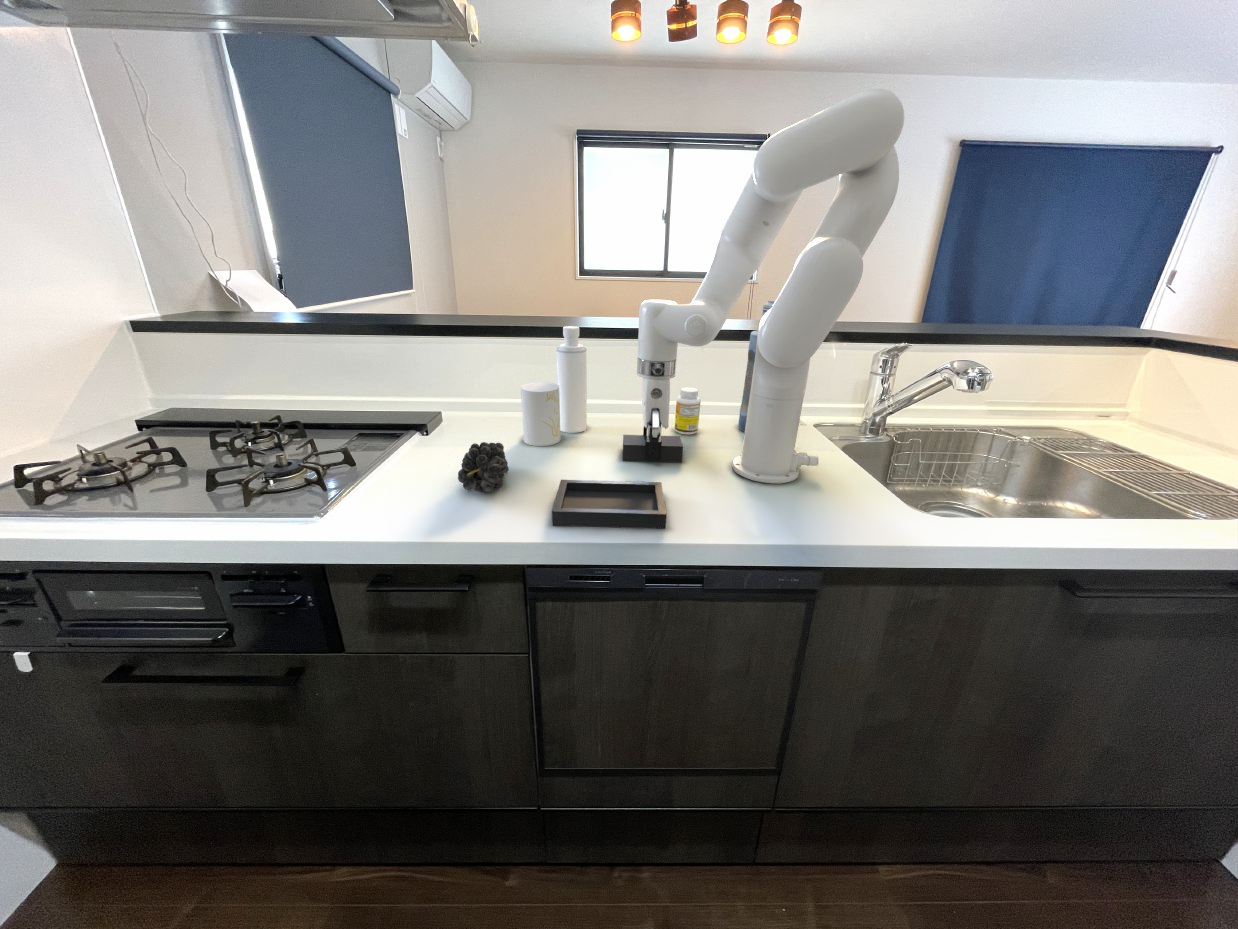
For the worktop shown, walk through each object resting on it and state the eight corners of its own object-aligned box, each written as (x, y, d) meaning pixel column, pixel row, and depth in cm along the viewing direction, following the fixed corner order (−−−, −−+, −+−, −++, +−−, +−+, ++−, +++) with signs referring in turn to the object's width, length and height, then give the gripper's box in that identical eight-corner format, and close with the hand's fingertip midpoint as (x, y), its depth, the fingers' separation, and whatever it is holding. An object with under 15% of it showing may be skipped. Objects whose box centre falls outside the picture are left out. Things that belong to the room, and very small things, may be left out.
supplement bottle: (679, 426, 120) (682, 385, 116) (700, 430, 118) (705, 388, 114) (670, 432, 116) (673, 390, 112) (693, 437, 114) (697, 393, 110)
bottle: (731, 423, 123) (746, 297, 111) (768, 422, 125) (787, 298, 113) (747, 436, 115) (766, 301, 103) (786, 435, 116) (809, 302, 104)
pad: (678, 451, 105) (680, 436, 104) (681, 462, 100) (683, 446, 98) (622, 449, 105) (623, 434, 104) (622, 460, 100) (623, 444, 98)
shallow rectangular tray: (660, 495, 86) (661, 482, 85) (665, 528, 76) (666, 514, 75) (561, 492, 86) (560, 479, 85) (552, 525, 76) (551, 511, 75)
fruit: (482, 419, 93) (459, 446, 79) (524, 433, 94) (509, 462, 80) (471, 459, 96) (447, 492, 82) (512, 472, 97) (495, 507, 83)
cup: (553, 447, 105) (552, 393, 100) (518, 444, 107) (514, 390, 102) (565, 435, 113) (564, 383, 108) (531, 431, 114) (529, 380, 109)
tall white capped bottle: (592, 428, 117) (592, 320, 107) (570, 435, 113) (568, 322, 103) (574, 422, 121) (573, 317, 111) (552, 427, 117) (549, 319, 107)
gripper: (680, 378, 87) (673, 469, 94) (671, 359, 103) (666, 437, 110) (638, 377, 87) (633, 467, 94) (635, 357, 103) (632, 436, 110)
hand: (651, 451), depth 102 cm, fingers open, 8 cm apart
